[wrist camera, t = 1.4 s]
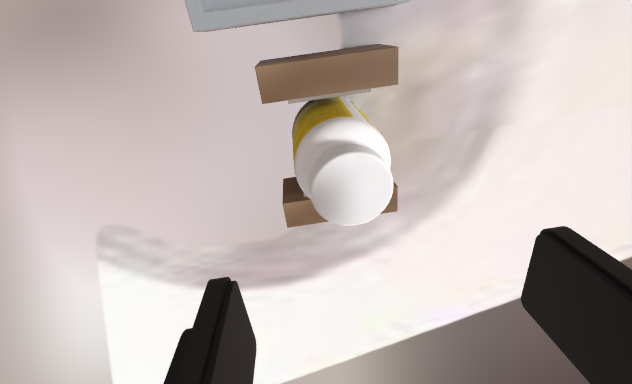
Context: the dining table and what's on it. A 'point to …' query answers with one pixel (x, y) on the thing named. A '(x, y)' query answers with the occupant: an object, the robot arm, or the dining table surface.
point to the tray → (269, 11)
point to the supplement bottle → (341, 161)
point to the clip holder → (318, 83)
